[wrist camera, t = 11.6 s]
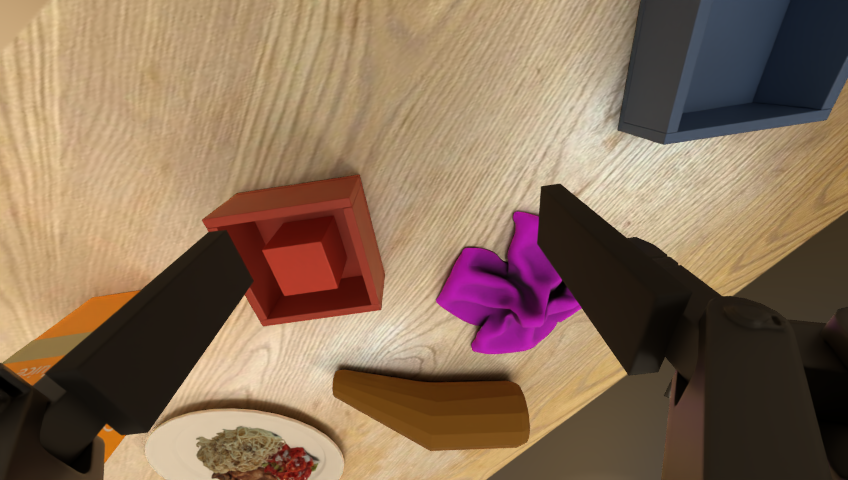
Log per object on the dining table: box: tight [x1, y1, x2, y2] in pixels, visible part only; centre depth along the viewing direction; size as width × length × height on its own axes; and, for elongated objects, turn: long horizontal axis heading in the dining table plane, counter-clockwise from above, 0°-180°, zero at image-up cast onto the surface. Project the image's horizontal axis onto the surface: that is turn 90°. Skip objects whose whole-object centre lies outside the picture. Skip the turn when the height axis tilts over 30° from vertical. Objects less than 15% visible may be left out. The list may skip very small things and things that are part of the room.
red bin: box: [202, 175, 385, 326], centre depth 28 cm, size 12×12×6 cm
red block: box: [262, 216, 347, 296], centre depth 28 cm, size 5×5×5 cm
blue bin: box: [618, 0, 848, 145], centre depth 21 cm, size 12×12×6 cm
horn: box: [333, 369, 530, 451], centre depth 41 cm, size 8×10×25 cm
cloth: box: [436, 211, 581, 354], centre depth 32 cm, size 22×19×6 cm
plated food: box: [145, 408, 344, 480], centre depth 49 cm, size 30×30×3 cm
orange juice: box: [3, 290, 141, 463], centre depth 26 cm, size 8×9×20 cm
